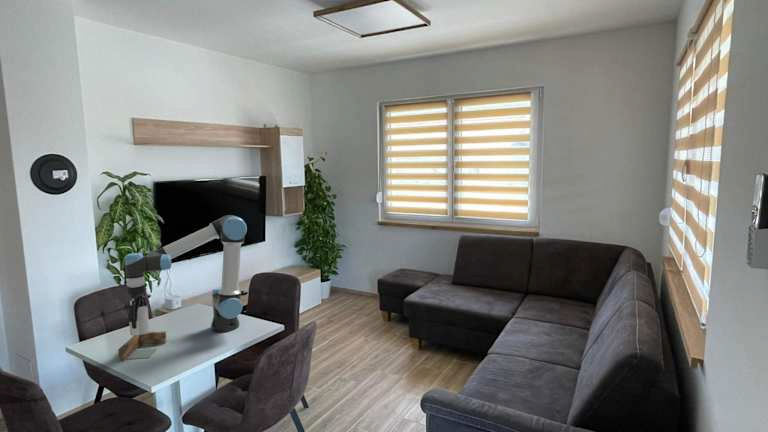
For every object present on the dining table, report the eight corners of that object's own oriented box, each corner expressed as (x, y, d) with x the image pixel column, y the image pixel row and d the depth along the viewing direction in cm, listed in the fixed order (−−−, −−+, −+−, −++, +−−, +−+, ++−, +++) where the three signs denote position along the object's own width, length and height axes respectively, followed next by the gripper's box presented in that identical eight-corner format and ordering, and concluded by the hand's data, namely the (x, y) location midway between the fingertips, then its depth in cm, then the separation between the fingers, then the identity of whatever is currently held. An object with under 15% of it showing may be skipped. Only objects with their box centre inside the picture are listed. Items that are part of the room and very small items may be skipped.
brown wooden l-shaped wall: (166, 342, 221) (165, 331, 220) (150, 359, 201) (149, 347, 200) (138, 343, 219) (137, 332, 218) (119, 361, 199) (118, 349, 199)
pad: (157, 349, 212) (157, 348, 212) (148, 357, 202) (148, 357, 202) (136, 350, 211) (135, 350, 211) (126, 359, 201) (126, 358, 201)
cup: (153, 329, 209) (151, 306, 207) (140, 336, 201) (138, 311, 199) (139, 328, 210) (137, 305, 209) (126, 335, 202) (124, 310, 201)
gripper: (137, 280, 213) (141, 323, 215) (116, 292, 192) (121, 339, 194) (153, 279, 213) (156, 322, 216) (134, 291, 193) (138, 338, 195)
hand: (139, 330), depth 205 cm, fingers closed on cup, 8 cm apart
